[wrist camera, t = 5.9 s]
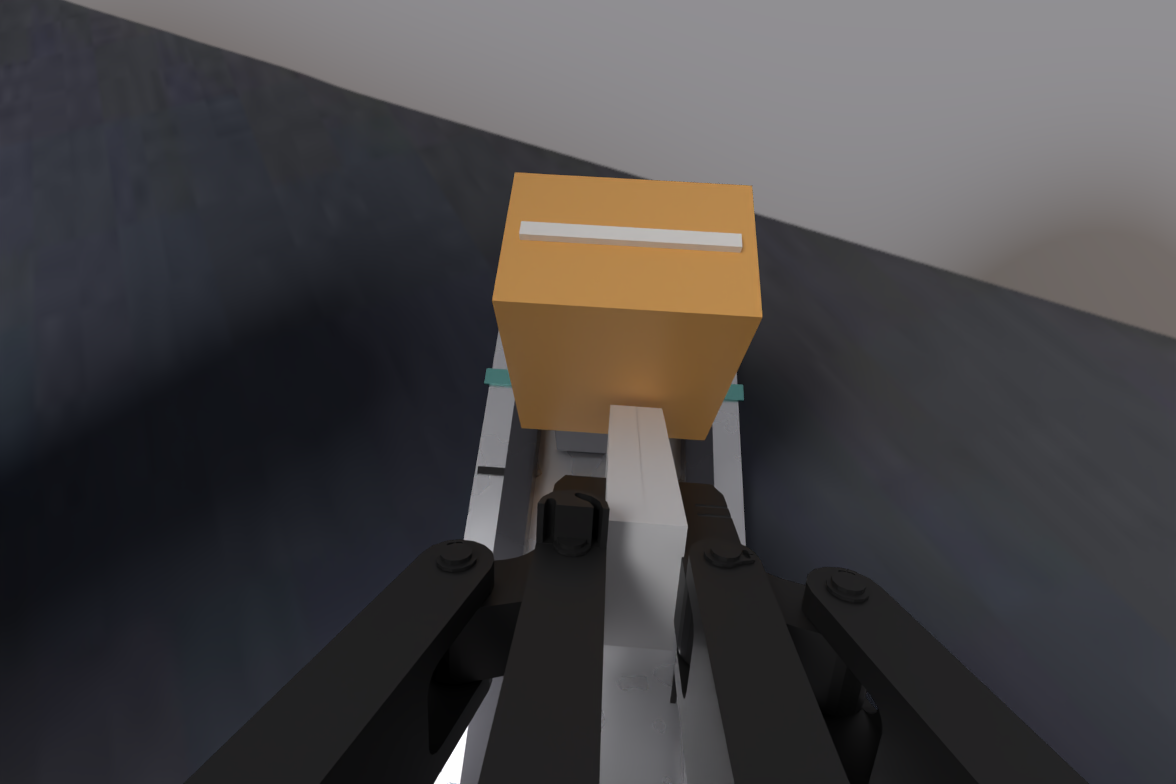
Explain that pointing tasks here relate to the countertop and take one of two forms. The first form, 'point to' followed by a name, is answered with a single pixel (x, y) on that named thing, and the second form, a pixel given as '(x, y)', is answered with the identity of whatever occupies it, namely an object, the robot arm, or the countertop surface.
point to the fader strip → (508, 528)
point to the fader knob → (625, 301)
